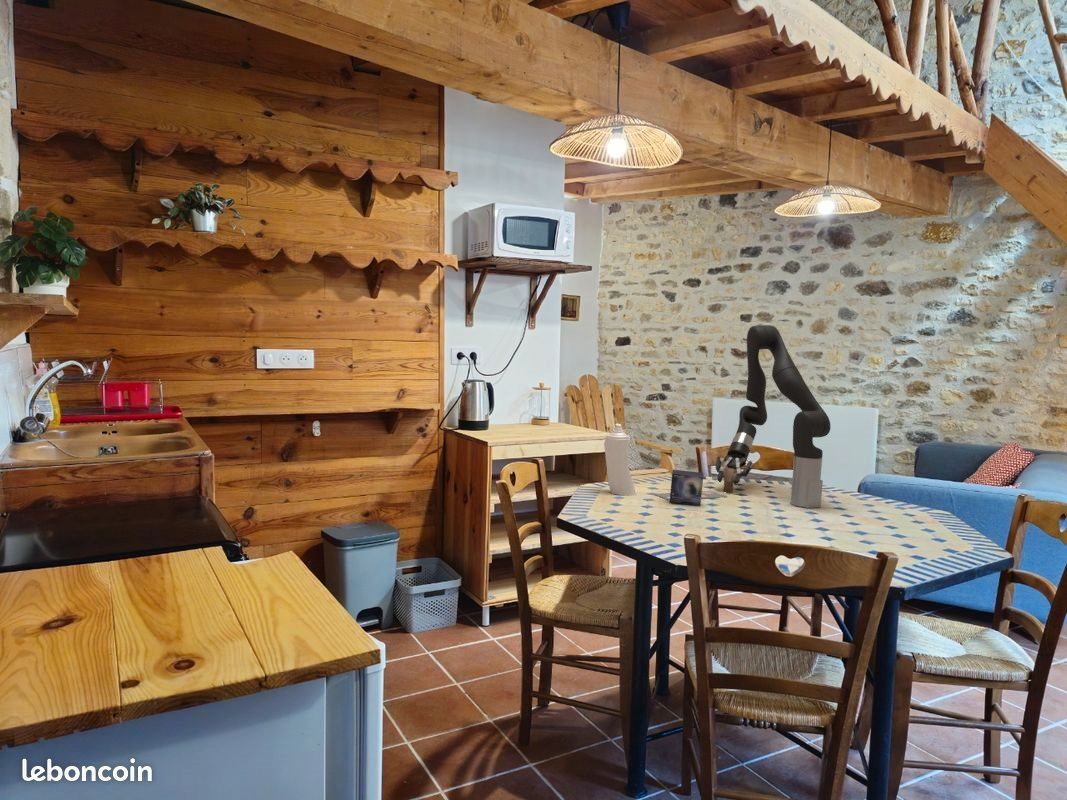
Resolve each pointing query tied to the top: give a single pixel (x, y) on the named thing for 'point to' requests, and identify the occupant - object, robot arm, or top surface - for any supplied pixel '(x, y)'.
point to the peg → (728, 480)
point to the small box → (686, 487)
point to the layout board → (704, 495)
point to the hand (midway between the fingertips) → (727, 481)
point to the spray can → (618, 462)
